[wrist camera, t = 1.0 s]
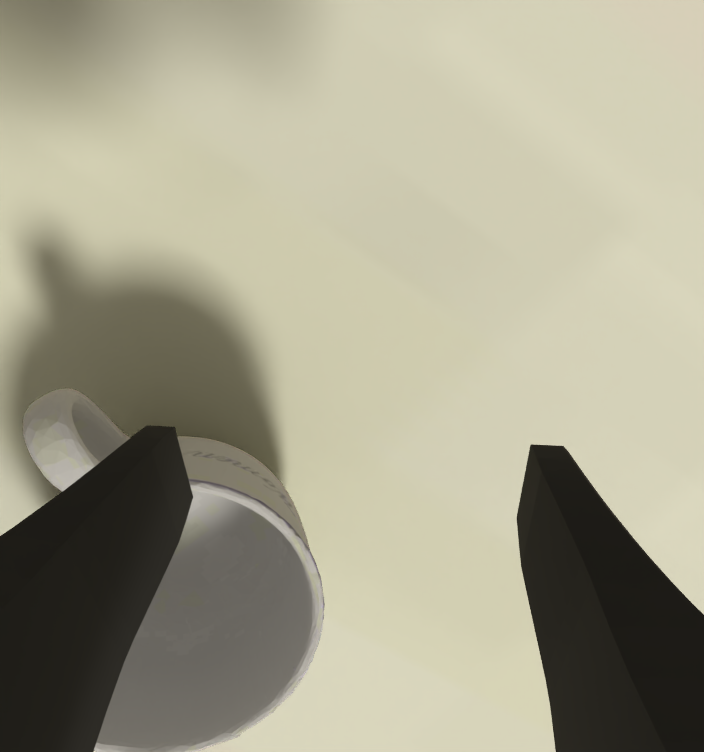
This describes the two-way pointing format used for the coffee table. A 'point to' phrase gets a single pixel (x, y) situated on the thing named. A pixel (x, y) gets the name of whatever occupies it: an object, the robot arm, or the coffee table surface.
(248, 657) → the teacup
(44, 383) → the coffee table surface
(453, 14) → the coffee table surface
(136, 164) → the coffee table surface
